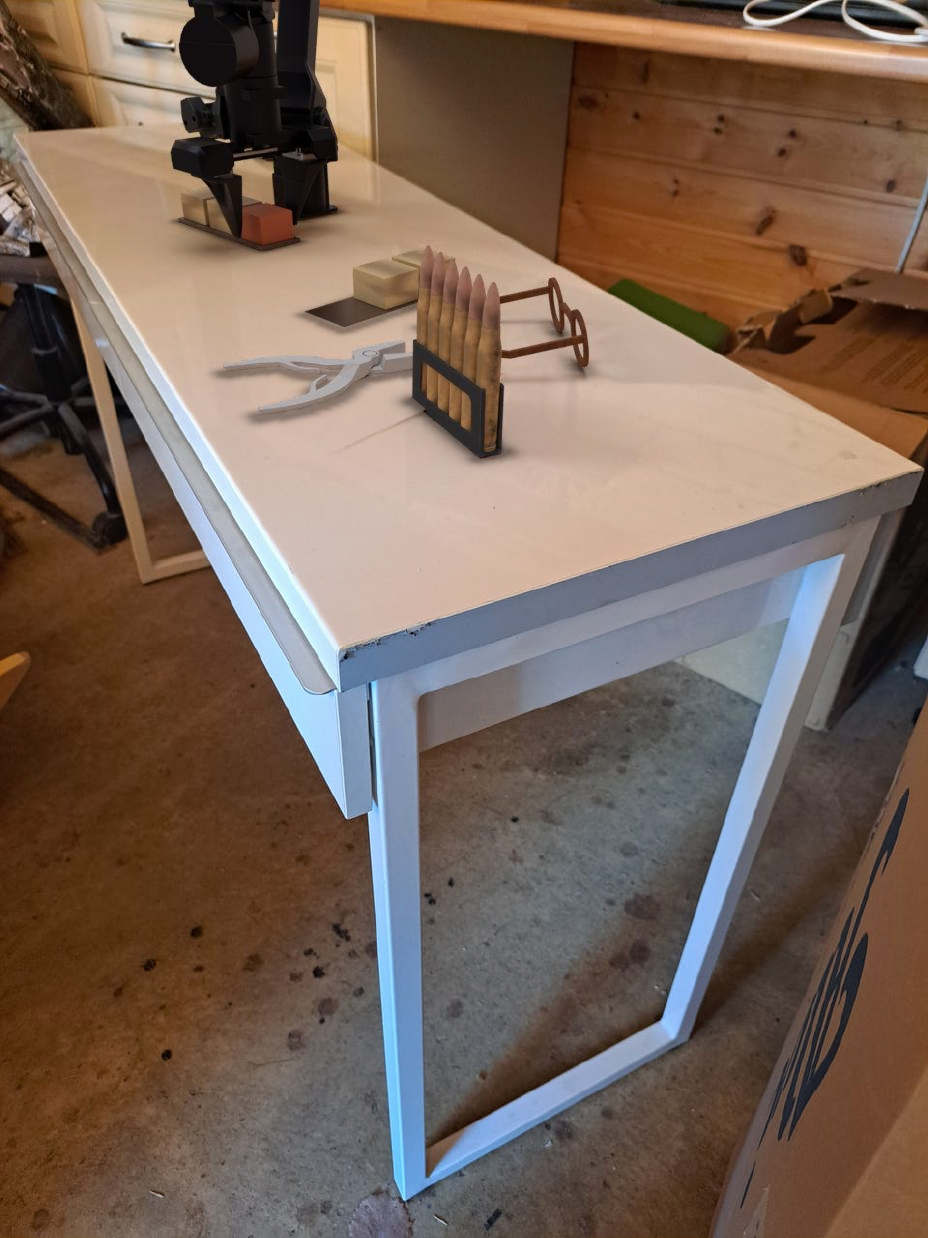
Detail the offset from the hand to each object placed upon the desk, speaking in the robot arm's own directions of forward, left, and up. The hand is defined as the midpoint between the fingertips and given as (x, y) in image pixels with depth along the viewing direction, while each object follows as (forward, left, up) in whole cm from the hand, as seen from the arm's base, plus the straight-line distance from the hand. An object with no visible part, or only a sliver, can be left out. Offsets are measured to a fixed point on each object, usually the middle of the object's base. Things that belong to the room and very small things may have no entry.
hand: (265, 230), depth 102 cm
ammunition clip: (+20, +48, -1) cm, 52 cm away
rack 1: (0, -5, -1) cm, 6 cm away
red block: (0, 0, -1) cm, 1 cm away
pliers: (+21, +35, -1) cm, 40 cm away
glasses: (+6, +41, -1) cm, 41 cm away
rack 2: (+5, +25, -1) cm, 25 cm away
